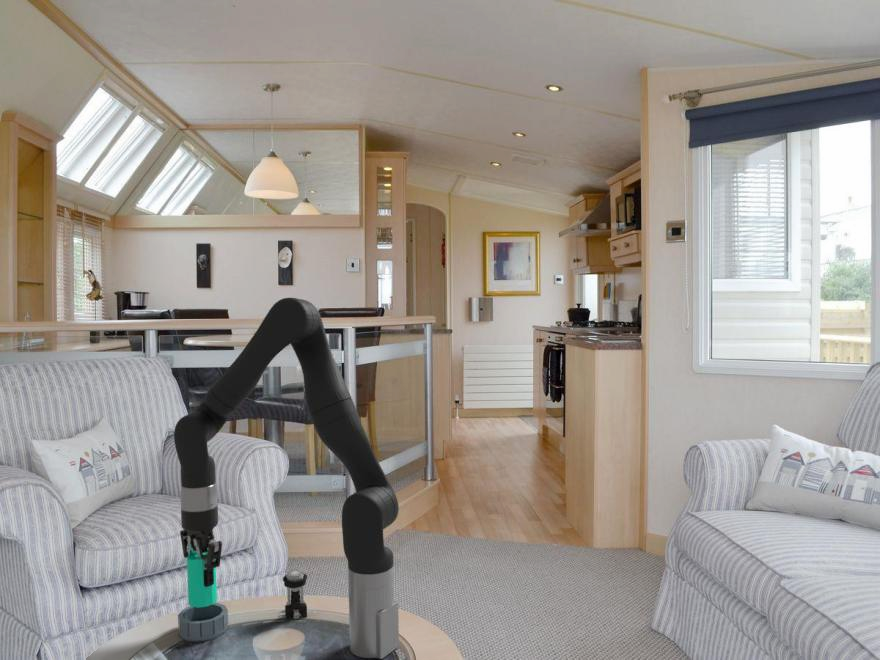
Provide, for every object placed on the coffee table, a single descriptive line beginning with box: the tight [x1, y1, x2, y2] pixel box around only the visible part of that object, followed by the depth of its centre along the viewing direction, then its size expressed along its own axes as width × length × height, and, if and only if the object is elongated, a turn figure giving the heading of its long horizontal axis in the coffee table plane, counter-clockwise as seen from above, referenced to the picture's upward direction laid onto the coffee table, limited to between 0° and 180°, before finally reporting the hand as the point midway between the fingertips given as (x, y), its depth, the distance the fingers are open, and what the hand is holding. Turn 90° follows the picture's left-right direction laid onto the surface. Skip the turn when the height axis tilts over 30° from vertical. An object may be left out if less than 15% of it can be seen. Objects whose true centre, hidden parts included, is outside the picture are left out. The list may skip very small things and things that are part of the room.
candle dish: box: [177, 602, 229, 643], centre depth 163 cm, size 10×10×4 cm
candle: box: [186, 552, 218, 608], centre depth 162 cm, size 6×6×12 cm
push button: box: [277, 569, 308, 620], centre depth 169 cm, size 7×5×10 cm
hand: (202, 581), depth 162 cm, fingers closed on candle, 4 cm apart
